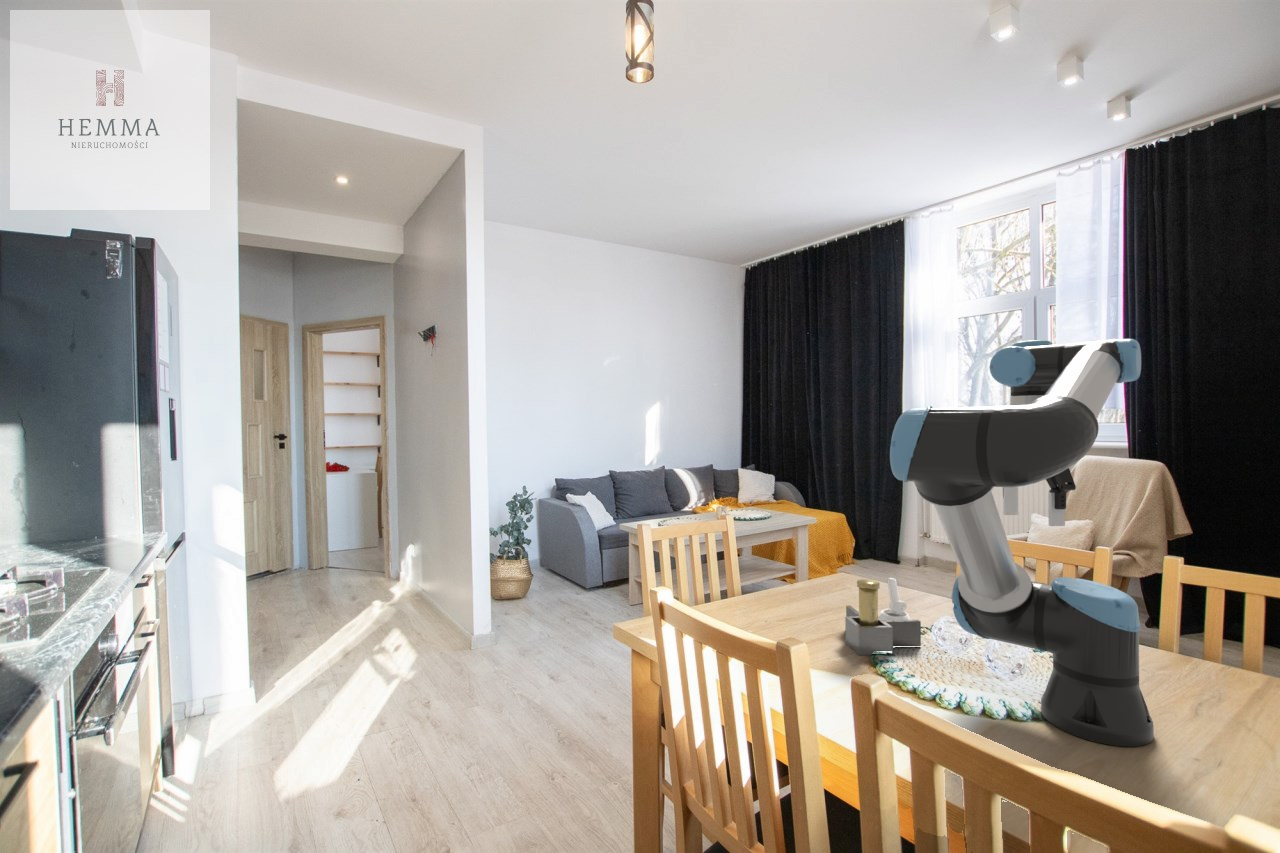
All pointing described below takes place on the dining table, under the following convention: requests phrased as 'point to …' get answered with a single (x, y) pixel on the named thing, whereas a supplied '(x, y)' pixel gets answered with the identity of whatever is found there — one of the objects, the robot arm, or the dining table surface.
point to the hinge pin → (868, 602)
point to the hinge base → (880, 634)
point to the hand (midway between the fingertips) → (1032, 520)
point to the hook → (894, 604)
